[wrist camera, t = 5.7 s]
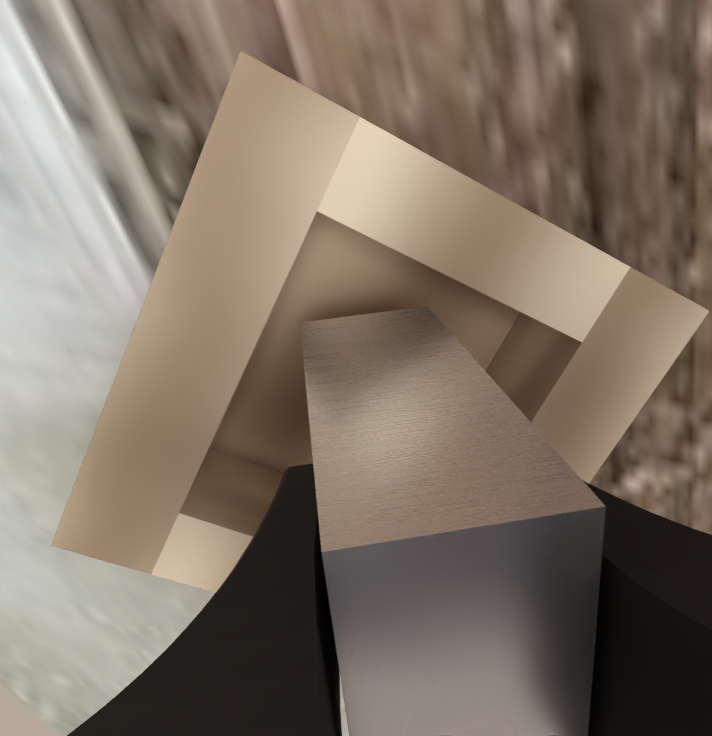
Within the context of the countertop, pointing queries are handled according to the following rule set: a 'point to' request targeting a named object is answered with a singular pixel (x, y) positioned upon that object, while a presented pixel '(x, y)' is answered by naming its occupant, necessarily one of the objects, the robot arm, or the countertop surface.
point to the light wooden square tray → (334, 300)
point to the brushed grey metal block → (446, 538)
